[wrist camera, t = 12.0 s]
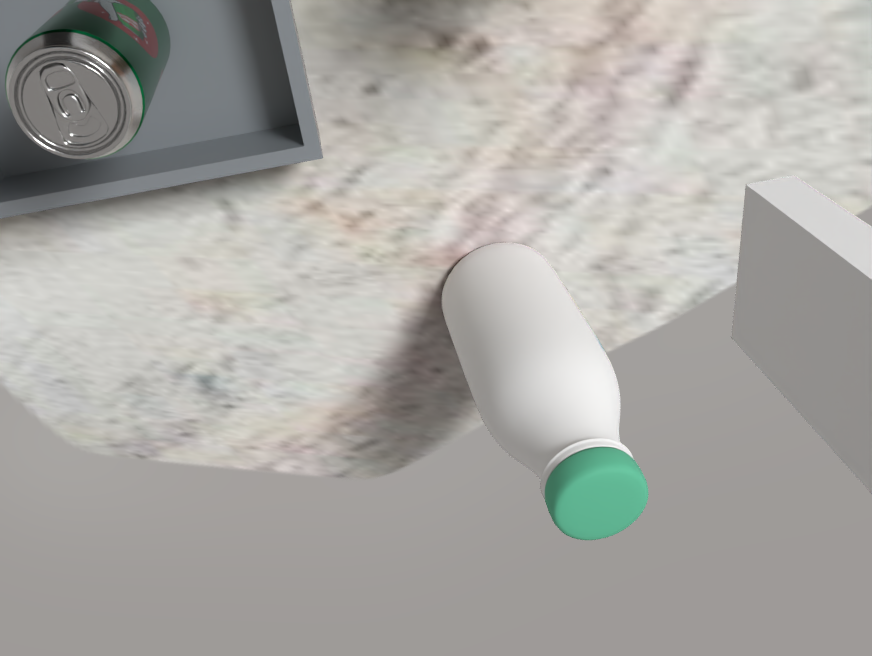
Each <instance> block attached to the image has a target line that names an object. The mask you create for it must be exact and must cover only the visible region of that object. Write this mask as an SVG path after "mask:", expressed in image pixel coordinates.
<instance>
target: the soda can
mask: <svg viewBox="0 0 872 656" xmlns="http://www.w3.org/2000/svg"><path fill="white" fill-rule="evenodd" d="M170 48H171V44H170V34H169V30H168V27H167V24H166V22H165V20H164V18H163V16H162V14H161V13H160V11H159V10H158V9H157V7H156V6H155V5H154V4H153V3H152V2H151V1H150V0H70V1H68V2H67V3H66V4H65V5H64V6H63V7H62V8H61V9H60V10H59V11H57V12H56V13H55V14H54V15H53V16H52V17H51V18H50V19H49V20H48V21H46V22H45V23H44V24H43V25H42V26H41V27H40V28H39V29H38V30H37V31H35V32H34V33H33V34H32V35H31V36H30V37H29V38H28V39H27V40H26V41H24V42H23V43H22V44H21V45H20V46H19V47H18V48H17V50H16V51H15V52H14V54H13V55H12V57H11V59H10V61H9V64H8V66H7V70H6V75H5V90H6V97H7V100H8V104H9V107H10V109H11V111H12V113H13V115H14V118H15V120H16V122H17V123H18V125H19V126H20V128H21V129H22V131H23V132H24V133H25V134H26V135H27V136H28V137H29V138H30V139H31V140H32V141H33V142H34V143H35V144H37V145H38V146H40V147H41V148H43V149H44V150H46V151H48V152H50V153H52V154H55V155H58V156H61V157H65V158H70V159H98V158H102V157H107V156H109V155H112V154H114V153H116V152H118V151H120V150H121V149H123V148H124V147H126V146H127V145H128V144H129V143H130V142H131V141H132V140H133V139H134V137H135V136H136V135H137V133H138V131H139V129H140V127H141V125H142V123H143V120H144V118H145V115H146V113H147V111H148V108H149V106H150V103H151V101H152V98H153V96H154V94H155V91H156V89H157V86H158V84H159V81H160V79H161V77H162V74H163V72H164V69H165V67H166V64H167V62H168V59H169V55H170Z"/></svg>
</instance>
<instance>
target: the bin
mask: <svg viewBox="0 0 872 656" xmlns="http://www.w3.org/2000/svg"><path fill="white" fill-rule="evenodd" d="M68 1H70V0H0V219H1V218H6V217H12V216H17V215H22V214H28V213H33V212H38V211H44V210H49V209H54V208H60V207H65V206H70V205H76V204H81V203H86V202H92V201H97V200H102V199H108V198H113V197H118V196H124V195H129V194H134V193H140V192H145V191H150V190H156V189H161V188H166V187H172V186H177V185H182V184H188V183H193V182H199V181H204V180H209V179H215V178H220V177H225V176H231V175H236V174H241V173H247V172H252V171H257V170H263V169H268V168H273V167H279V166H284V165H289V164H295V163H300V162H305V161H311V160H316V159H321V158H323V155H322V149H321V143H320V137H319V131H318V126H317V121H316V117H315V112H314V107H313V103H312V98H311V93H310V89H309V84H308V79H307V75H306V70H305V65H304V61H303V56H302V52H301V47H300V42H299V38H298V33H297V28H296V24H295V19H294V14H293V10H292V5H291V0H150V1H151V2H152V3H153V4H154V5H155V6H156V7H157V9H158V10H159V11H160V13H161V14H162V16H163V18H164V20H165V22H166V24H167V27H168V30H169V34H170V44H171V48H170V55H169V59H168V62H167V64H166V67H165V69H164V72H163V74H162V77H161V79H160V81H159V84H158V86H157V89H156V91H155V94H154V96H153V98H152V101H151V103H150V106H149V108H148V111H147V113H146V115H145V118H144V120H143V123H142V125H141V127H140V129H139V131H138V133H137V135H136V136H135V137H134V139H133V140H132V141H131V142H130V143H129V144H128V145H127V146H126V147H124V148H123V149H121V150H120V151H118V152H116V153H114V154H112V155H109V156H107V157H102V158H98V159H70V158H65V157H61V156H58V155H55V154H52V153H50V152H48V151H46V150H44V149H43V148H41V147H40V146H38V145H37V144H35V143H34V142H33V141H32V140H31V139H30V138H29V137H28V136H27V135H26V134H25V133H24V132H23V131H22V129H21V128H20V126H19V125H18V123H17V122H16V120H15V118H14V115H13V113H12V111H11V109H10V107H9V104H8V100H7V97H6V90H5V75H6V70H7V66H8V64H9V61H10V59H11V57H12V55H13V54H14V52H15V51H16V50H17V48H18V47H19V46H20V45H21V44H22V43H23V42H24V41H26V40H27V39H28V38H29V37H30V36H31V35H32V34H33V33H34V32H35V31H37V30H38V29H39V28H40V27H41V26H42V25H43V24H44V23H45V22H46V21H48V20H49V19H50V18H51V17H52V16H53V15H54V14H55V13H56V12H57V11H59V10H60V9H61V8H62V7H63V6H64V5H65V4H66V3H67V2H68Z"/></svg>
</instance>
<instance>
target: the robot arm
mask: <svg viewBox="0 0 872 656" xmlns="http://www.w3.org/2000/svg"><path fill="white" fill-rule="evenodd" d="M731 338H732V339H733V340H734V341H735V343H736V344H737V345H738V346H739V347H740V348H741V349H742V350H743V351H744V353H745V354H746V355H747V356H748V357H749V358H750V359H751V360H752V361H753V363H755V365H756V366H757V367H758V368H759V369H760V370H761V371H762V373H763V374H764V375H765V376H766V377H767V378H768V379H769V380H770V381H771V382H772V384H773V385H774V386H775V387H776V388H777V389H778V390H779V391H780V392H781V394H782V395H783V396H784V397H785V398H786V399H787V400H788V401H789V403H790V404H792V406H793V407H794V408H795V409H796V410H797V411H798V413H800V415H801V416H802V417H803V418H804V419H805V420H806V422H807V423H808V424H809V425H810V426H811V427H812V428H813V429H814V430H815V432H816V433H817V434H818V435H819V436H820V437H821V438H822V439H823V440H824V442H825V443H826V444H827V445H828V446H829V447H830V448H831V449H832V450H833V451H834V453H835V454H836V455H837V456H838V457H839V458H840V459H841V460H842V461H843V463H844V464H845V465H846V466H847V467H848V468H849V469H850V470H851V472H852V473H853V474H854V475H855V476H856V477H857V478H858V479H859V480H860V482H861V483H862V484H863V485H864V486H865V487H866V488H867V489H868V490H869V492H870V493H871V494H872V227H871V226H870V225H868V224H867V223H865V222H864V221H862V220H861V219H859V218H858V217H856V216H855V215H853V214H852V213H850V212H849V211H847V210H846V209H844V208H843V207H841V206H840V205H838V204H837V203H835V202H834V201H832V200H831V199H829V198H828V197H826V196H825V195H823V194H822V193H820V192H819V191H817V190H816V189H814V188H813V187H811V186H810V185H808V184H807V183H806V182H804V181H803V180H801V179H800V178H798V177H797V176H795V175H793V176H788V177H782V178H777V179H772V180H766V181H761V182H756V183H750V184H746V189H745V199H744V210H743V220H742V231H741V242H740V252H739V263H738V273H737V284H736V294H735V305H734V316H733V326H732V337H731Z"/></svg>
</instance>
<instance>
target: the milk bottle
mask: <svg viewBox="0 0 872 656" xmlns="http://www.w3.org/2000/svg"><path fill="white" fill-rule="evenodd" d="M442 310H443V314H444V318H445V321H446V324H447V327H448V330H449V333H450V335H451V338H452V341H453V344H454V347H455V350H456V352H457V355H458V358H459V361H460V363H461V366H462V369H463V372H464V374H465V377H466V380H467V383H468V385H469V388H470V391H471V393H472V396H473V399H474V401H475V404H476V406H477V408H478V411H479V413H480V415H481V418H482V420H483V422H484V424H485V426H486V427H487V429H488V431H489V432H490V434H491V435H492V437H493V438H494V439H495V441H496V442H497V443H498V444H499V446H501V448H502V449H503V450H504V451H505V452H506V453H508V454H509V455H510V456H511V457H513V458H514V459H515V460H517V461H518V462H519V463H521V464H523V465H524V466H526V467H527V468H529V469H530V470H531V471H532V472H534V473H535V474H536V475H537V476H538V477H539V479H540V480H541V481H540V489H541V493H542V495H543V497H544V499H545V502H546V505H547V507H548V511H549V513H550V515H551V517H552V519H553V521H554V523H555V525H556V526H557V527H558V528H559V529H560V530H561V531H562V532H563V533H564V534H566V535H568V536H570V537H572V538H576V539H580V540H596V539H601V538H606V537H609V536H612V535H614V534H616V533H619V532H620V531H622V530H624V529H625V528H627V527H628V526H629V525H631V524H632V523H633V522H634V521H635V520H636V519H637V518H638V517H639V516H640V514H641V513H642V512H643V510H644V508H645V506H646V503H647V500H648V487H647V482H646V479H645V478H644V476H643V473H642V471H641V469H640V468H639V466H638V465H637V463H636V462H635V460H633V457H632V454H631V452H630V451H629V450H628V449H627V448H626V447H625V446H624V445H623V444H621V443H620V439H619V420H620V392H619V387H618V383H617V378H616V375H615V372H614V370H613V367H612V365H611V362H610V361H609V358H608V357H607V355H606V353H605V351H604V349H603V347H602V346H601V344H600V342H599V340H598V339H597V337H596V335H595V334H594V332H593V330H592V329H591V327H590V326H589V324H588V322H587V321H586V319H585V317H584V316H583V314H582V313H581V311H580V309H579V308H578V306H577V305H576V303H575V301H574V300H573V298H572V297H571V295H570V294H569V292H568V290H567V289H566V287H565V286H564V284H563V283H562V281H561V279H560V278H559V276H558V275H557V273H556V272H555V270H554V269H553V267H552V266H551V265H550V263H549V262H548V261H547V259H546V258H545V257H544V256H543V255H542V254H540V253H539V252H538V251H536V250H534V249H533V248H531V247H528V246H525V245H522V244H518V243H508V242H500V243H492V244H489V245H486V246H482V247H480V248H478V249H476V250H474V251H472V252H470V253H469V254H468V255H467V256H465V257H464V258H462V259H461V260H460V261H459V263H458V264H457V265H456V266H455V267H454V268H453V270H452V272H451V273H450V274H449V276H448V278H447V280H446V282H445V285H444V288H443V292H442Z"/></svg>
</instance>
